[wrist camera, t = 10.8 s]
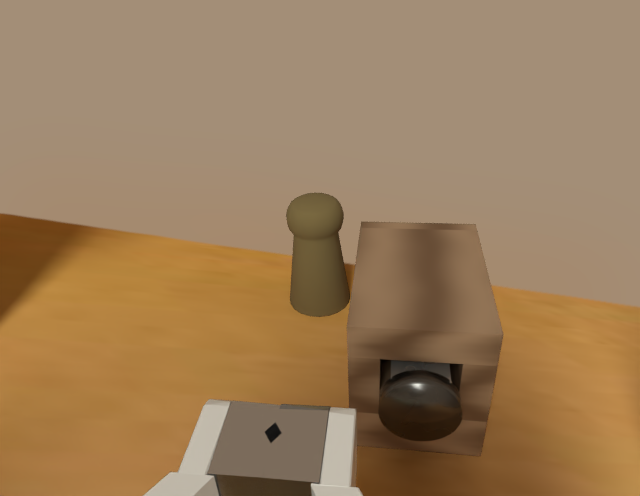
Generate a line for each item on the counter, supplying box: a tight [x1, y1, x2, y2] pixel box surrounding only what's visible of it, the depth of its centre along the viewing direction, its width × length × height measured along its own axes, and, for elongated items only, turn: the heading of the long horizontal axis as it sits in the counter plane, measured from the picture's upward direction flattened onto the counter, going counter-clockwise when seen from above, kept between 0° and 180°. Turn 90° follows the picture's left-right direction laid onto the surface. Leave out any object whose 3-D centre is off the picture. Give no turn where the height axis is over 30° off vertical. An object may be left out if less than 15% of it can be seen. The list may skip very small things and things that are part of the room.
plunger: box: [378, 360, 462, 441], centre depth 36 cm, size 5×13×5 cm, turn 172°
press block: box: [347, 222, 503, 456], centre depth 38 cm, size 9×13×11 cm
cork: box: [286, 193, 350, 317], centre depth 48 cm, size 6×6×11 cm
